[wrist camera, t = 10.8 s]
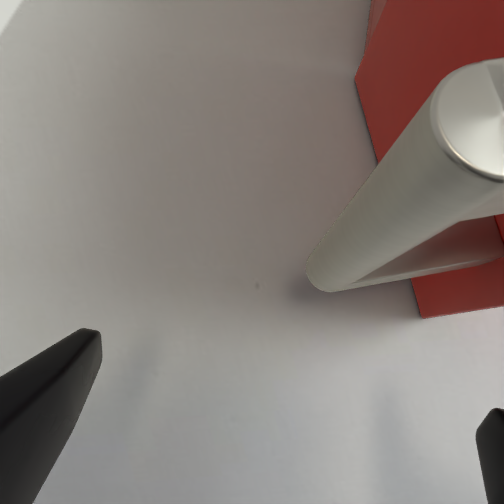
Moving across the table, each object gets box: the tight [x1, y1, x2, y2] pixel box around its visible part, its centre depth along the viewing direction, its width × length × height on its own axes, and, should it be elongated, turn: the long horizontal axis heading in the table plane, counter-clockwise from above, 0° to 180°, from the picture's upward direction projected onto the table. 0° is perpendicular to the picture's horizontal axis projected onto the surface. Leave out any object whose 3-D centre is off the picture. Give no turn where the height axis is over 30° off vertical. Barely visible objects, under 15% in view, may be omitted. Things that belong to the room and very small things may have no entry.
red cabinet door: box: [306, 0, 504, 319], centre depth 11 cm, size 6×12×13 cm, turn 10°
